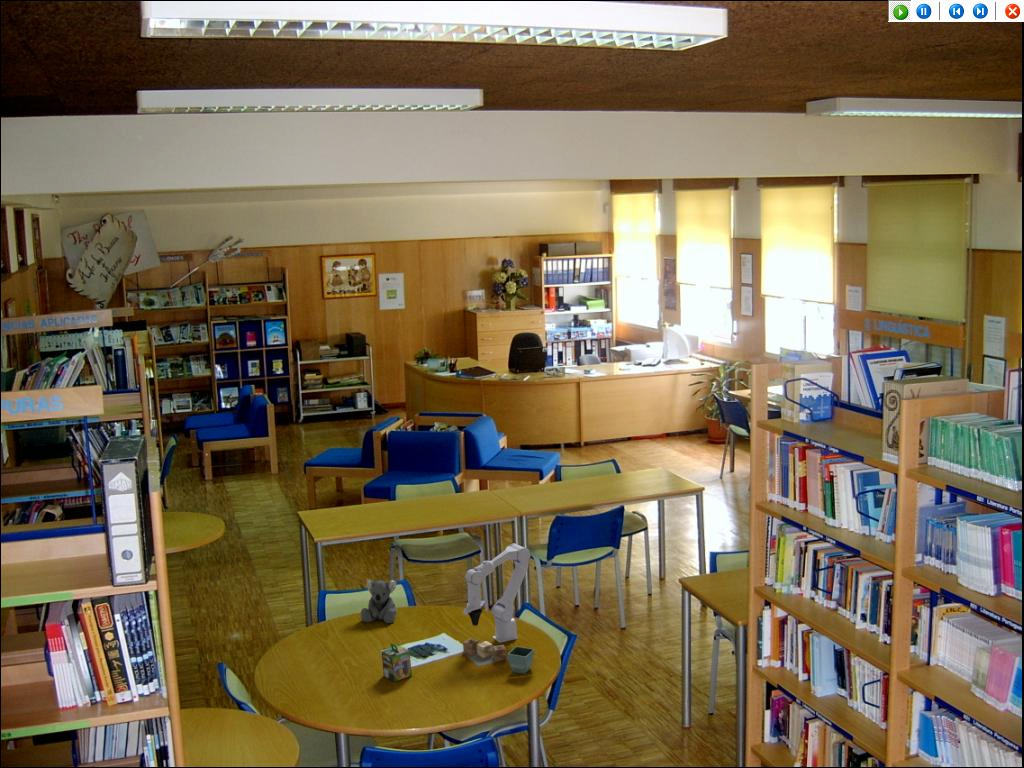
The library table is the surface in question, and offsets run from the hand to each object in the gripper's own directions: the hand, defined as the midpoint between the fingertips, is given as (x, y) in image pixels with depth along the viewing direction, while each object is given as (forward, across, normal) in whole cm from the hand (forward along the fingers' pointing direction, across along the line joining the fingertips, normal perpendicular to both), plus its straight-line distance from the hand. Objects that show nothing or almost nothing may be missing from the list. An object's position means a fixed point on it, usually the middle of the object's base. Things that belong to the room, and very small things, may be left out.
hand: (475, 625), depth 491 cm
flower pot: (+11, +11, +33) cm, 36 cm away
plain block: (+10, +6, +9) cm, 15 cm away
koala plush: (+11, -7, -63) cm, 64 cm away
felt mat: (+10, +6, +10) cm, 15 cm away
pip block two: (+10, +6, +2) cm, 12 cm away
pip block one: (+10, +6, +17) cm, 21 cm away
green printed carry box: (+12, +41, -11) cm, 44 cm away
